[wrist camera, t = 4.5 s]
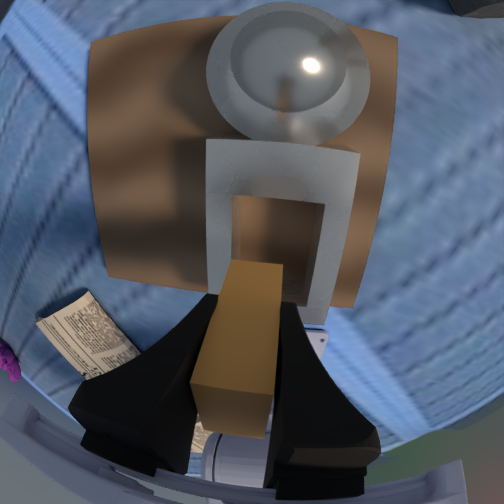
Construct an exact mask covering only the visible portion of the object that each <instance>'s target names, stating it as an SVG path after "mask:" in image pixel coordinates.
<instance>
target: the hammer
mask: <svg viewBox="0 0 504 504" xmlns="http://www.w3.org/2000/svg"><path fill="white" fill-rule="evenodd" d="M448 1H449V3H450V5H451V6H452V8H453V10H454V12H455V14H456V15H458V16H462V17H472V18H480V19H482V18H503V17H504V0H448Z"/></svg>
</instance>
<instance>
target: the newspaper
mask: <svg viewBox="0 0 504 504" xmlns="http://www.w3.org/2000/svg"><path fill="white" fill-rule="evenodd" d="M35 323H36V324H37V326H38V327H39V328H40V329H41V331H42V332H43V333H44V334H45V335H46V337H47V338H48V339H49V340H50V341H51V342H52V344H53V345H54V346H55V347H56V348H57V349H58V350H59V352H60V353H61V354H62V355H63V356H64V357H65V358H66V359H67V360H68V361H69V362H70V363H71V364H72V365H73V366H74V367H75V368H76V369H77V370H78V371H79V372H80V373H81V374H82V375H83V376H84V377H85V378H86V379H87V380H88V379H91V378H93V377H96V376H99V375H101V374H104V373H106V372H108V371H110V370H113V369H115V368H117V367H119V366H120V365H122V364H124V363H126V362H128V361H130V360H131V359H133V358H135V357H136V356H138V355H139V354H141V353H140V351H139V350H138V349H137V348H136V347H135V346H134V345H133V344H132V343H131V342H130V341H129V339H128V338H127V337H126V336H125V335H124V334H123V333H122V332H121V330H120V329H119V328H118V327H117V326H116V325H115V323H114V322H113V321H112V320H111V319H110V317H109V316H108V315H107V314H106V312H105V311H104V310H103V309H102V307H101V306H100V305H99V304H98V302H97V301H96V300H95V298H94V297H93V296H92V295H91V293H90V292H89V291H88V292H87V293H86V294H85V295H84V296H82V297H81V298H79V299H78V300H77V301H75V302H73V303H72V304H70V305H68V306H66V307H65V308H63V309H61V310H59V311H58V312H56V313H54V314H52V315H51V316H49V317H47V318H41V317H39V318H38V319H37V320H36V321H35ZM212 433H213V432H211V431H206V430H203V427H202V424H201V421H200V418H199V414H198V415H197V420H196V425H195V430H194V435H193V440H192V446H191V451H190V452H198V453H203V449H204V445H205V443H206V441H207V439H208V437H209V436H210V435H211V434H212Z"/></svg>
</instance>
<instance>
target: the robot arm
mask: <svg viewBox="0 0 504 504" xmlns="http://www.w3.org/2000/svg"><path fill="white" fill-rule="evenodd" d="M218 296H219V295H217V294H209V293H207V294H206V295H205V296H204V297H203V298H202V299H201V300H200V301H199V303H198V304H197V305H196V306H195V307H194V308H193V309H192V310H191V311H190V312H189V313H188V314H187V315H186V316H185V317H184V318H183V319H182V320H181V321H180V322H179V323H178V324H177V325H176V326H175V327H174V328H173V329H172V330H171V331H169V332H168V333H167V334H166V335H165V336H164V337H163V338H161V339H160V340H159V341H158V342H156V343H155V344H154V345H152V346H151V347H150V348H148V349H147V350H145V351H144V352H142V353H141V354H139V355H138V356H136V357H135V358H133V359H131V360H130V361H128V362H126V363H124V364H122V365H120V366H119V367H117V368H115V369H113V370H110V371H108V372H106V373H104V374H101V375H99V376H96V377H93V378H91V379H88V380H85V381H83V382H82V383H81V385H80V386H79V388H78V389H77V391H76V393H75V395H74V397H73V399H72V401H71V402H70V404H69V406H68V409H69V412H70V413H71V415H72V416H73V417H74V418H75V419H76V420H77V421H78V422H79V423H80V424H81V425H82V426H83V427H84V428H85V429H86V432H85V434H84V436H83V438H82V437H80V436H78V435H76V434H74V433H72V432H70V431H68V430H66V429H65V428H63V427H61V426H59V425H57V424H56V423H54V422H52V421H51V420H49V419H47V418H46V417H44V416H43V415H41V414H40V413H39V412H38V411H37V410H36V409H35V408H34V407H33V406H32V405H31V404H30V403H28V402H27V401H26V400H24V399H23V398H21V397H20V396H18V395H17V394H16V393H14V394H13V396H12V398H11V399H10V401H9V403H8V405H7V406H6V408H5V409H4V411H3V413H2V414H1V416H0V437H1V438H2V439H3V440H4V441H5V442H6V443H7V444H9V445H10V446H11V447H12V448H13V449H14V450H16V451H17V452H18V453H19V454H20V455H21V456H22V457H24V458H25V459H26V460H27V461H28V462H30V463H31V464H32V465H33V466H35V467H36V468H37V469H38V470H40V471H41V472H43V473H44V474H45V475H47V476H48V477H49V478H51V479H52V480H54V481H55V482H57V483H58V484H59V485H61V486H62V487H64V488H65V489H67V490H68V491H70V492H72V493H73V494H75V495H77V496H78V497H80V498H82V499H83V500H85V501H87V502H89V503H90V504H182V503H178V502H175V501H171V500H167V499H164V498H160V497H157V496H154V492H153V490H151V489H148V488H146V487H144V486H143V485H141V484H139V483H138V482H137V481H136V480H133V479H131V478H129V477H126V476H124V475H122V474H120V473H118V472H116V471H115V470H117V471H119V472H122V473H124V474H127V475H130V476H132V477H135V478H138V479H140V480H143V481H146V482H149V483H152V484H155V485H158V486H162V487H165V488H169V489H172V490H176V491H180V492H183V493H188V494H192V495H196V496H201V497H206V501H207V504H468V501H467V493H466V485H465V478H464V472H463V467H462V461H461V460H460V459H459V460H456V461H453V462H450V463H447V464H444V465H441V466H438V467H436V468H434V469H432V470H430V471H429V472H427V473H426V474H422V475H419V476H415V477H410V478H406V479H402V480H397V481H393V482H386V483H381V484H375V485H367V486H364V476H366V474H367V467H366V466H367V465H369V464H370V463H371V462H373V461H374V460H375V459H377V457H378V456H379V455H380V454H381V446H380V440H379V437H378V433H377V430H376V427H375V426H374V425H373V424H372V423H371V422H369V421H368V420H367V419H366V418H365V417H364V416H363V415H362V414H361V413H360V412H359V411H358V410H357V409H356V408H355V407H354V406H353V405H352V404H351V402H350V401H349V400H348V399H347V398H346V396H345V395H344V394H343V393H342V392H341V390H340V389H339V388H338V387H337V385H336V384H335V383H334V381H333V380H332V378H331V377H330V376H329V374H328V372H327V371H326V369H325V368H324V366H323V365H322V363H321V361H320V360H321V357H322V355H323V352H324V349H325V346H326V343H327V340H328V336H329V335H328V332H327V331H320V330H307V329H304V326H303V323H302V321H301V318H300V315H299V311H298V308H297V305H296V303H293V302H282V301H281V306H280V324H279V338H278V351H277V364H276V376H275V387H274V396H273V401H272V405H271V410H270V414H269V419H268V423H267V428H266V432H265V436H264V439H260V438H251V437H243V436H235V435H229V434H222V433H216V432H213V433H212V434H211V435H210V436H209V437H208V439H207V441H206V443H205V445H204V449H203V453H202V458H201V478H202V479H198V478H194V477H189V476H185V474H186V473H187V471H188V464H189V458H190V451H191V446H192V440H193V435H194V430H195V425H196V420H197V415H198V411H197V407H196V404H195V400H194V397H193V393H192V389H191V386H190V380H191V377H192V374H193V371H194V368H195V365H196V362H197V359H198V356H199V353H200V350H201V347H202V344H203V341H204V338H205V335H206V332H207V329H208V326H209V323H210V320H211V317H212V315H213V313H214V311H215V309H216V306H217V303H218ZM321 339H323V340H321ZM114 469H115V470H114Z"/></svg>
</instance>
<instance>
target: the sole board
mask: <svg viewBox="0 0 504 504" xmlns="http://www.w3.org/2000/svg"><path fill="white" fill-rule="evenodd" d="M235 17H237V16H219V17H206V18H197V19H188V20H181V21H174V22H168V23H163V24H157V25H153V26H148V27H143V28H139V29H135V30H131V31H127V32H123V33H120V34H116V35H113V36H110V37H106V38H103V39H100V40H97V41H94V42H91V46H90V56H89V68H88V87H87V132H88V151H89V164H90V175H91V184H92V193H93V200H94V207H95V214H96V220H97V226H98V231H99V236H100V242H101V247H102V251H103V256H104V260H105V265H106V269H107V273H108V277H113V278H118V279H124V280H129V281H135V282H141V283H147V284H153V285H159V286H165V287H172V288H178V289H185V290H192V291H199V292H206V293H208V274H207V243H206V139H207V138H211V137H214V136H217V135H221V134H228V135H244V134H242V133H241V132H239V131H238V130H236V129H235V128H234V127H233V126H232V125H231V124H229V123H228V122H227V121H226V120H225V118H224V117H223V116H222V115H221V114H220V112H219V111H218V109H217V108H216V106H215V104H214V102H213V100H212V98H211V96H210V92H209V89H208V85H207V79H206V66H207V59H208V55H209V52H210V49H211V47H212V45H213V42H214V40H215V39H216V37H217V36H218V34H219V33H220V32H221V30H222V29H223V28H224V27H225V26H226V25H227V24H228V23H229V22H230V21H231V20H233V19H234V18H235ZM344 25H346V24H344ZM346 26H347V27H348V28H349V29H350V30H351V31H352V33H353V34H354V35H355V36H356V38H357V39H358V41H359V42H360V44H361V45H362V47H363V49H364V52H365V54H366V57H367V60H368V63H369V69H370V89H369V94H368V98H367V101H366V103H365V105H364V108H363V110H362V111H361V113H360V114H359V116H358V117H357V119H356V120H355V121H354V122H353V123H352V124H351V126H349V127H348V128H347V129H346V130H345V131H344V132H342V133H341V134H339V135H338V136H336V137H334V138H332V139H330V140H328V141H326V142H323V143H330V144H337V145H343V146H348V147H349V148H351V149H353V150H355V151H357V152H359V153H361V154H360V161H359V168H358V175H357V181H356V187H355V193H354V199H353V205H352V210H351V215H350V220H349V225H348V230H347V235H346V240H345V245H344V249H343V254H342V258H341V262H340V267H339V271H338V275H337V279H336V283H335V287H334V291H333V294H332V298H331V302H330V306H334V307H348V308H353V305H354V302H355V299H356V296H357V293H358V290H359V286H360V283H361V280H362V276H363V273H364V270H365V266H366V262H367V259H368V255H369V251H370V248H371V244H372V240H373V236H374V232H375V227H376V223H377V219H378V214H379V210H380V205H381V200H382V195H383V190H384V185H385V179H386V173H387V167H388V161H389V155H390V148H391V140H392V132H393V123H394V114H395V102H396V88H397V66H398V38H397V37H394V36H390V35H387V34H384V33H380V32H376V31H372V30H368V29H364V28H360V27H355V26H351V25H346ZM316 205H317V203H314V202H305V201H296V200H287V199H277V198H267V197H256V196H244V195H242V208H241V234H240V260H242V261H252V262H262V263H273V264H283V276H292V277H302V278H305V274H306V268H307V262H308V256H309V250H310V244H311V238H312V232H313V225H314V218H315V212H316Z"/></svg>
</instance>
